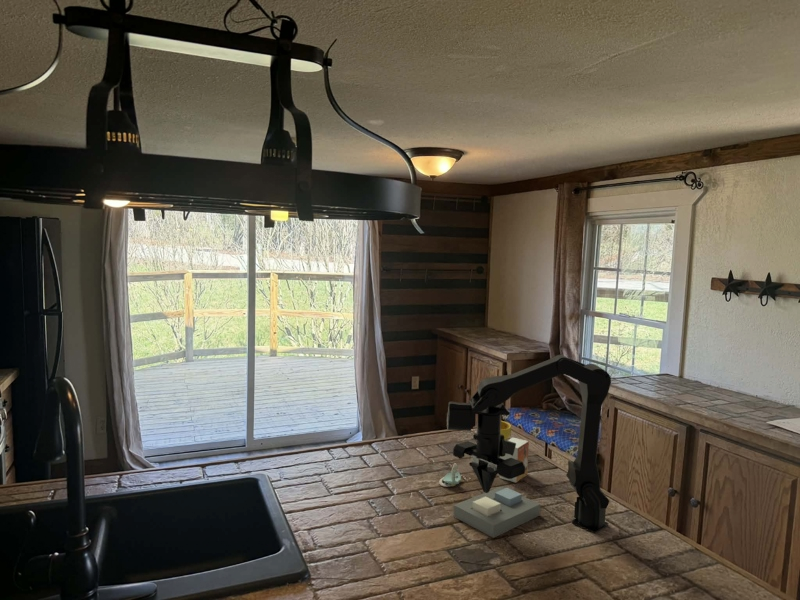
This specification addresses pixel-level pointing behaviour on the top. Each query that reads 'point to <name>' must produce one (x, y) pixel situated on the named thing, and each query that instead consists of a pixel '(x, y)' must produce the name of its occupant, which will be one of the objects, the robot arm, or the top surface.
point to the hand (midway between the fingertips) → (486, 492)
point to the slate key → (508, 497)
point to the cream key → (486, 506)
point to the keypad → (496, 514)
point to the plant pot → (505, 430)
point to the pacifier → (451, 477)
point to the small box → (518, 456)
